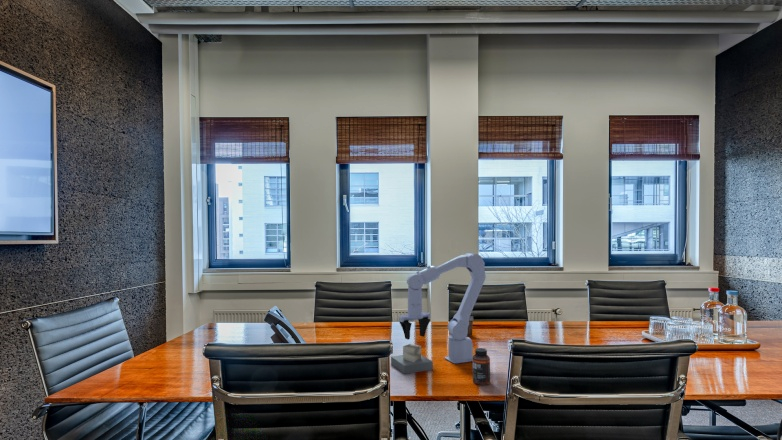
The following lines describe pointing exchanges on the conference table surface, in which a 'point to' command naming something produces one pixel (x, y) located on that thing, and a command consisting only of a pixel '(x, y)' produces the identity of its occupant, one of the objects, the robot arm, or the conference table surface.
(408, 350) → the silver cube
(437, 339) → the conference table surface
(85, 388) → the conference table surface
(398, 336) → the conference table surface
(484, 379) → the supplement bottle
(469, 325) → the food container
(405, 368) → the blue-gray box
